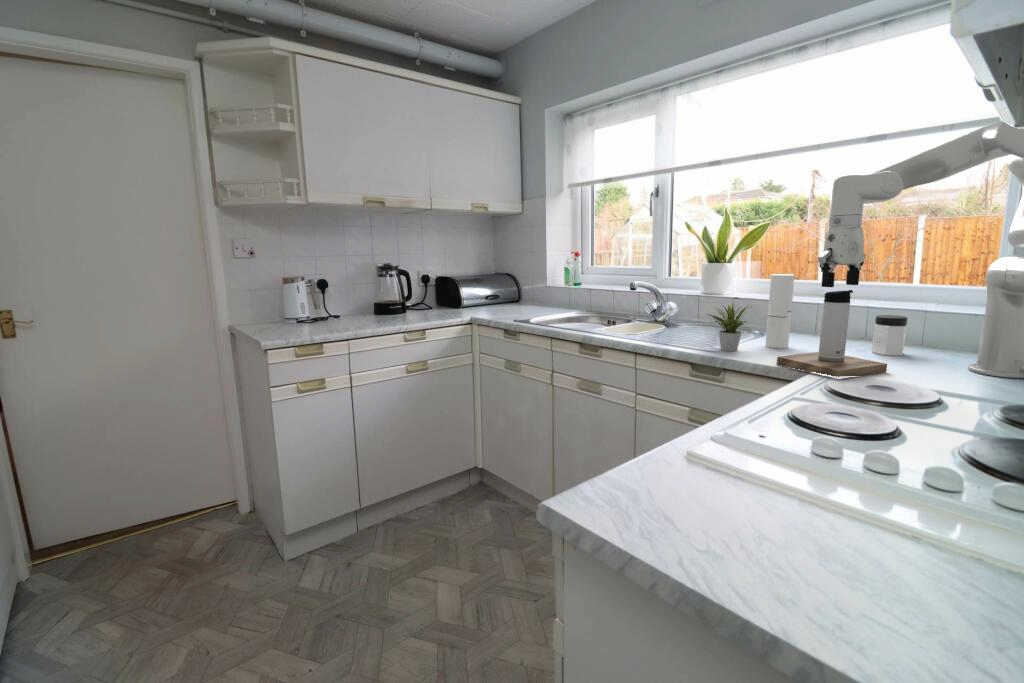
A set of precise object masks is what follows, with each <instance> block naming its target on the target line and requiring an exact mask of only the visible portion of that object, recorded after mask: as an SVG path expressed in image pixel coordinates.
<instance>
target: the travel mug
mask: <svg viewBox="0 0 1024 683" xmlns="http://www.w3.org/2000/svg"><path fill="white" fill-rule="evenodd" d="M853 293H854V290H853V289H849V290H837V291H834V290H833V291H828V292H825V293H824V299H823V306H822V315H821V316H822V317H821V327H820V335H819V346H818V352H819V355H818V359H820V360H822V361H827V362H842V361H844V355H845V354H846V346H847V336H848V335H847V334H848V326H849V319H850V318H849V317H850V310H851V309H850V308H851V306H850V304H851V294H853ZM845 356H846V355H845Z"/></svg>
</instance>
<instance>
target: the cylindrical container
mask: <svg viewBox="0 0 1024 683" xmlns="http://www.w3.org/2000/svg"><path fill="white" fill-rule="evenodd" d="M795 277H796V276H795V274H792V273H791V274H789V273H786V274H785V273H782V274H781V273H778V274H776V273H773V274H770V282H769V283H770V284H769V295H768V306H767V307H768V309H767V319H766V320H767V321H766V333H765V334H766V335H765V345H764V346H765V347H767V348H773V349H788V348H789V344H790V343H789V341H790V333H791V330H790V329H791V320H792V308H793V300H794V299H793V298H794V296H793V295H794V287H795V286H794V285H795Z"/></svg>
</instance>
